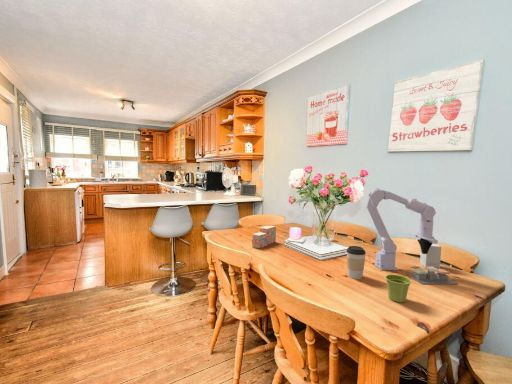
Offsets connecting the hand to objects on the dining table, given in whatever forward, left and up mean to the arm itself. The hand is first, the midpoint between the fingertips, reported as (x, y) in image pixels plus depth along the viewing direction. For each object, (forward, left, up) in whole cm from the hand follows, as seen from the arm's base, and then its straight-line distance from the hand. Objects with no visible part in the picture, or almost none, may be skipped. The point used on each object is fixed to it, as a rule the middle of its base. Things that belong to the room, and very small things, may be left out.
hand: (424, 253), depth 134 cm
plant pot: (-31, -29, -10) cm, 44 cm away
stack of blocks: (-82, +50, -10) cm, 96 cm away
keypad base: (-3, -9, -10) cm, 14 cm away
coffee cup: (-39, -6, -10) cm, 41 cm away
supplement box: (+9, +8, -10) cm, 16 cm away
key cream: (-3, -9, -8) cm, 12 cm away
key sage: (-8, -9, -9) cm, 15 cm away
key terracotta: (+3, -9, -9) cm, 13 cm away
